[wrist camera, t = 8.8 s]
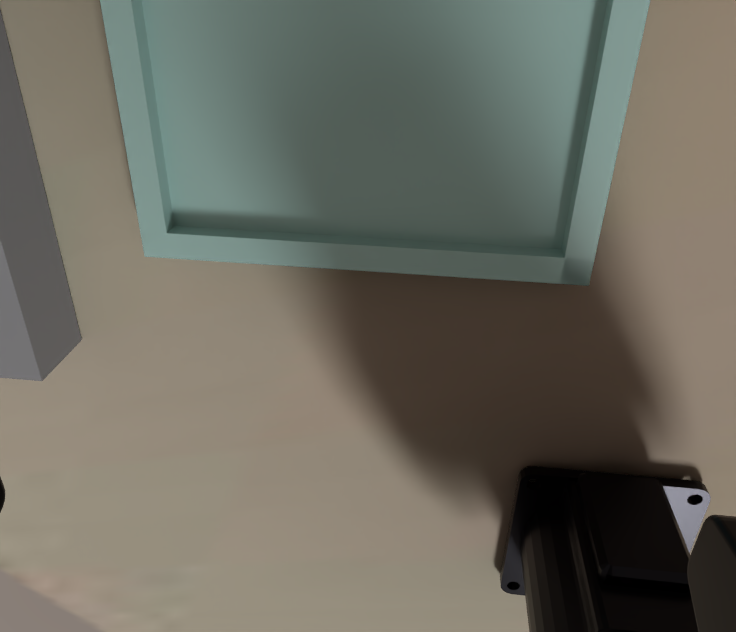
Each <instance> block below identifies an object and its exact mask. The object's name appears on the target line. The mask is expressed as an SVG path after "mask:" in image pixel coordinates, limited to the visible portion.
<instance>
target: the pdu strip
mask: <svg viewBox="0 0 736 632" xmlns="http://www.w3.org/2000/svg"><path fill="white" fill-rule="evenodd" d="M81 340H82V339H81V335H80V331H79V327H78V323H77V319H76V314H75V310H74V306H73V302H72V298H71V294H70V290H69V286H68V282H67V278H66V274H65V270H64V266H63V262H62V258H61V254H60V250H59V246H58V241H57V237H56V233H55V229H54V225H53V221H52V217H51V213H50V209H49V205H48V201H47V197H46V193H45V189H44V185H43V181H42V177H41V173H40V169H39V164H38V160H37V156H36V152H35V148H34V144H33V140H32V136H31V132H30V128H29V124H28V120H27V116H26V112H25V108H24V104H23V100H22V96H21V92H20V87H19V83H18V79H17V75H16V71H15V67H14V63H13V59H12V55H11V51H10V47H9V43H8V39H7V35H6V31H5V27H4V23H3V19H2V15H1V10H0V378H12V379H24V380H35V381H43V380H44V379H45V378H46V376H47V375H48V374H49V373H50V372H51V371H52V370H53V369H54V368H55V367H56V366H57V365H58V364H59V363H60V362H61V361H62V360H63V359H64V358H65V357H66V356H67V355H68V354H69V353H70V352H71V351H72V349H73V348H74V347H75V346H76V345H77V344H78V343H79V342H80V341H81Z"/></svg>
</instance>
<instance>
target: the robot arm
mask: <svg viewBox="0 0 736 632" xmlns="http://www.w3.org/2000/svg"><path fill="white" fill-rule="evenodd" d="M532 479H536V480H537V481H535V482H530V481H529V480H532ZM695 494H697V495H695ZM691 495H695V496H691ZM689 496H691V497H689ZM4 501H5V489H4V485H3V483H2V480H1V477H0V512H1V510H2V508H3V504H4ZM709 503H710V495H709V493H708V491H707V489H706V487H705V485H704V484H702V483H701V482H698V481H691V480H680V479H669V478H658V477H647V476H636V475H626V474H615V473H604V472H593V471H582V470H571V469H560V468H549V467H538V466H529V467H526V468H524V469H523V470H521V471H520V473H519V476H518V481H517V487H516V492H515V497H514V503H513V508H512V514H511V519H510V525H509V530H508V536H507V541H506V546H505V552H504V557H503V563H502V568H501V574H500V581H501V588H502V589H503V591H505V592H507V593H510V594H517V595H525V597H526V605H527V614H528V623H529V631H530V632H736V517H734V516H724V515H711V516H709V517H708V518H707V519H706V520H705V522H704V523H703V526H702V528H701V531H700V533H699V536H698V538H697V541H696V543H695V546H694V548H693V551H692V553H691V555H690V550H691V548H692V545H693V543H694V540H695V538H696V535H697V533H698V530H699V528H700V525H701V523H702V520H703V518H704V515H705V513H706V510H707V508H708V505H709Z"/></svg>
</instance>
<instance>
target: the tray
mask: <svg viewBox="0 0 736 632" xmlns="http://www.w3.org/2000/svg"><path fill="white" fill-rule="evenodd" d="M100 3H101V9H102V15H103V21H104V26H105V32H106V38H107V44H108V49H109V55H110V61H111V66H112V72H113V78H114V84H115V89H116V95H117V101H118V107H119V112H120V118H121V124H122V129H123V135H124V141H125V147H126V152H127V158H128V164H129V170H130V175H131V181H132V187H133V192H134V198H135V204H136V210H137V215H138V221H139V227H140V233H141V238H142V244H143V250H144V256H145V257H159V258H174V259H189V260H205V261H220V262H235V263H250V264H265V265H281V266H296V267H311V268H326V269H342V270H357V271H372V272H387V273H403V274H418V275H433V276H448V277H464V278H479V279H494V280H509V281H525V282H540V283H555V284H570V285H585V286H589V283H590V278H591V273H592V269H593V264H594V259H595V255H596V250H597V245H598V241H599V236H600V231H601V227H602V222H603V217H604V213H605V208H606V203H607V199H608V194H609V190H610V185H611V180H612V176H613V171H614V166H615V162H616V157H617V152H618V148H619V143H620V138H621V134H622V129H623V124H624V120H625V115H626V110H627V106H628V101H629V97H630V92H631V87H632V83H633V78H634V73H635V69H636V64H637V59H638V55H639V50H640V45H641V41H642V36H643V31H644V27H645V22H646V17H647V13H648V8H649V4H650V0H100Z"/></svg>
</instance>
